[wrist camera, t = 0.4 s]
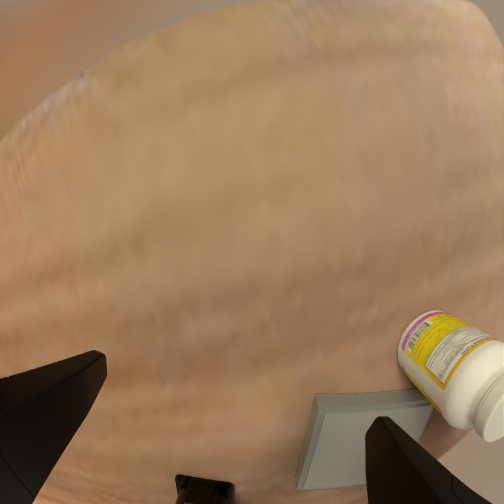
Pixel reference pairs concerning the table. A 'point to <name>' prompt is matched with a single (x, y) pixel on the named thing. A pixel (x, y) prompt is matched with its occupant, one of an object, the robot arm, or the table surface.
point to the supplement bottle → (456, 371)
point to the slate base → (353, 434)
